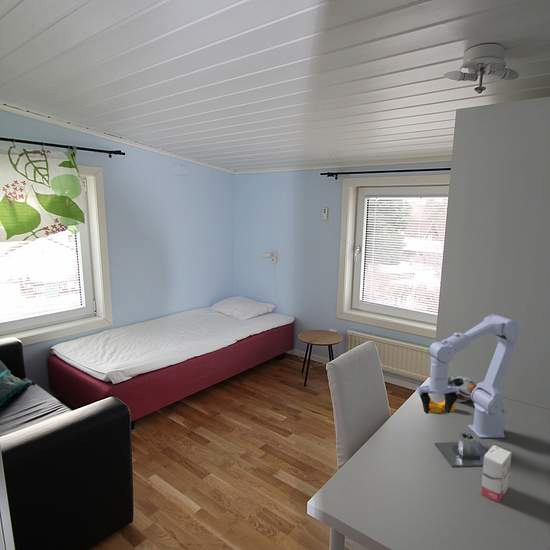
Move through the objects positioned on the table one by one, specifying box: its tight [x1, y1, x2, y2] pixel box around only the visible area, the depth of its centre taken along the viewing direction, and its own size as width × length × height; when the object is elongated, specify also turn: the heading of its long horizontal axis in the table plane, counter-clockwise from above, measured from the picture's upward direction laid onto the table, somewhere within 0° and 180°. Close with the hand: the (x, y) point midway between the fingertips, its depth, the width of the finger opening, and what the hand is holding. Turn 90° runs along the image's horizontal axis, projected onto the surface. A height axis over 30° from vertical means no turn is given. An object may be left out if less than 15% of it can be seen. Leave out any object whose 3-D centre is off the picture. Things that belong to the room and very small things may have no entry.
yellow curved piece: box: [422, 394, 456, 414], centre depth 153 cm, size 12×4×6 cm, turn 83°
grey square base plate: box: [434, 438, 489, 468], centre depth 124 cm, size 16×12×6 cm
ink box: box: [480, 444, 512, 503], centre depth 107 cm, size 9×5×12 cm, turn 132°
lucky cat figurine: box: [447, 375, 477, 403], centre depth 162 cm, size 15×12×14 cm
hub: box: [458, 431, 477, 455], centre depth 124 cm, size 5×5×5 cm
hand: (436, 412), depth 133 cm, fingers open, 7 cm apart
